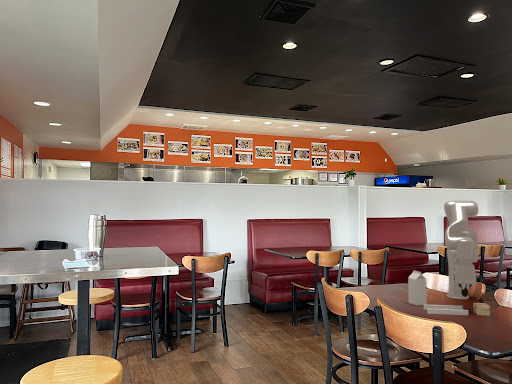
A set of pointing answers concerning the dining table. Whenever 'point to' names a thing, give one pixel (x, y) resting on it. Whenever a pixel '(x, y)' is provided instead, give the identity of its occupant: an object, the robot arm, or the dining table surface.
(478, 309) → the maple block
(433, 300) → the dining table surface
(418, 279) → the milk carton
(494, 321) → the dining table surface
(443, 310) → the channel
